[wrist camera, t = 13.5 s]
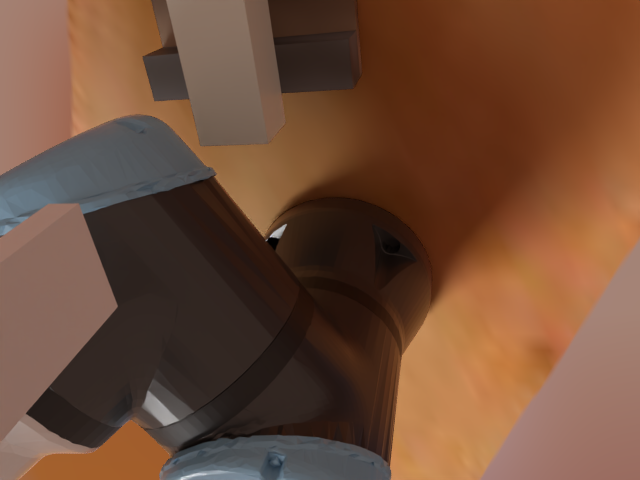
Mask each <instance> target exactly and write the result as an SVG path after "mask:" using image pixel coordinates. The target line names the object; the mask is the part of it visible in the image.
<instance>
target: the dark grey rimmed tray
mask: <svg viewBox="0 0 640 480" xmlns="http://www.w3.org/2000/svg"><path fill="white" fill-rule="evenodd" d="M151 1H152V5H153V9H154V13H155V17H156V21H157V25H158V29H159V33H160V37H161V41H162V45H163V48H161V49H159V50H156V51H154V52H152V53H150V54H147V55H145V56H143V60H144V64H145V68H146V71H147V75H148V79H149V82H150V86H151V90H152V93H153V97H154V101H166V100H182V99H189V95H188V91H187V86H186V82H185V78H184V74H183V69H182V65H181V61H180V57H179V52H178V48H177V44H176V40H175V36H174V31H173V27H172V23H171V19H170V14H169V10H168V6H167V2H166V0H151ZM268 7H269V13H270V20H271V27H272V33H273V40H274V47H275V54H276V60H277V67H278V74H279V80H280V87H281V93H294V92H310V91H326V90H342V89H353V88H354V86H355V85H356V83H357V81H358V80H359V78H360V76H361V74H362V64H361V51H360V38H359V25H358V12H357V0H268Z"/></svg>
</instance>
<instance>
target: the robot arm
mask: <svg viewBox="0 0 640 480" xmlns="http://www.w3.org/2000/svg"><path fill="white" fill-rule="evenodd" d="M215 175H217V174H216V172H215V171H214V170H213V168H211V167H207V166H205V165H204V164H203V163H202V161H201V160H200V159H199V158H198V157H197V156H196V155H195V154H194V153H193V152H192V150H191V149H190V148H189V147H188V146H187V145H186V144H185V143H184V142H183V141H182V140H181V138H180V137H179V136H178V135H177V134H176V133H175V132H174V131H173V130H172V129H171V128H170V127H169V126H168V125H167V124H166V123H164V122H163V121H161V120H159V119H157V118H155V117H152V116H147V115H129V116H124V117H120V118H117V119H114V120H111V121H108V122H106V123H104V124H101V125H99V126H96V127H94V128H92V129H90V130H87V131H85V132H83V133H81V134H78V135H76V136H74V137H72V138H70V139H68V140H66V141H64V142H62V143H60V144H58V145H56V146H54V147H52V148H50V149H48V150H46V151H44V152H42V153H41V154H39V155H37V156H35V157H33V158H31V159H29V160H27V161H25V162H24V163H22V164H20V165H18V166H16V167H14V168H13V169H11V170H9V171H7V172H6V173H4V174H2V175H0V480H19V479H20V478H21V477H22V476H23V475H24V474H25V473H26V472H27V471H28V470H30V469H31V468H32V467H33V466H34V465H35V464H36V463H37V462H38V461H39V460H40V459H41V458H43V457H44V456H46V455H50V454H54V453H90V452H94V451H95V450H96V449H98V448H99V447H100V446H101V445H103V443H105V442H106V441H107V440H108V439H109V438H110V437H111V436H112V435H113V434H114V433H115V432H116V431H117V430H118V429H119V428H121V427H122V426H123V425H124V424H125V423H126V422H128V421H129V420H132V421H134V422H135V423H137V424H138V425H139V426H141V427H142V428H143V429H144V430H145V431H146V432H147V433H148V434H149V435H150V436H152V437H153V438H154V439H155V440H156V441H157V443H158V444H160V445H161V446H162V447H163V448H164V449H165V450H166V451H167V452H168V453H169V455H170V459H168V460H167V462H166V463H165V464H164V465H163V467H162V469H161V472H160V480H391V470H390V460H391V451H392V441H393V431H394V422H395V412H396V403H397V393H398V384H399V375H400V366H401V357H402V355H403V353H404V352H405V350H406V349H407V347H408V346H409V344H410V343H411V341H412V340H413V338H414V337H415V335H416V334H417V332H418V331H419V329H420V328H421V326H422V324H423V322H424V320H425V318H426V316H427V313H428V310H429V306H430V301H431V289H432V272H431V266H430V262H429V259H428V256H427V254H426V251H425V249H424V248H423V246H422V244H421V242H420V241H419V239H418V238H417V237H416V235H415V234H414V233H413V232H412V231H411V230H410V229H409V228H408V227H407V226H406V225H405V224H404V223H403V222H402V221H401V220H399V219H398V218H397V217H395V216H394V215H392V214H390V213H389V212H387V211H385V210H383V209H381V208H379V207H377V206H375V205H372V204H369V203H366V202H363V201H359V200H354V199H348V198H322V199H316V200H312V201H308V202H305V203H302V204H300V205H297V206H295V207H293V208H291V209H290V210H288V211H287V212H285V213H284V214H282V215H281V216H280V217H279V218H278V219H277V220H276V221H275V222H274V223H273V224H272V225H271V227H270V228H269V229H268V231H267V233H266V234H265V236H264V238H263V236H262V235H261V234H260V233H259V231H258V230H257V229H256V228H255V226H254V225H253V224H252V223H251V221H250V220H249V219H248V218H247V217H246V215H245V214H244V213H243V212H242V210H241V209H240V208H239V207H238V205H237V204H236V203H235V202H234V201H233V199H232V198H231V197H230V196H229V194H228V193H227V192H226V191H225V189H224V188H223V187H222V186H221V185H220V183H219V182H218V181H217V180H216V178H215V177H214V176H215Z"/></svg>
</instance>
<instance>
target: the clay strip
mask: <svg viewBox="0 0 640 480" xmlns="http://www.w3.org/2000/svg"><path fill="white" fill-rule="evenodd" d="M166 2H167V6H168V10H169V14H170V19H171V23H172V27H173V31H174V36H175V40H176V44H177V48H178V52H179V57H180V61H181V65H182V69H183V74H184V78H185V82H186V86H187V91H188V95H189V99H190V103H191V107H192V112H193V116H194V120H195V124H196V129H197V133H198V137H199V141H200V146H221V145H249V144H269V142H270V141H271V140H272V139H273V138H274V136H275V135H276V134H277V133H278V132H279V130H280V129H281V128H282V127H283V125H284V124H285V123H286V120H285V114H284V107H283V100H282V94H281V87H280V80H279V74H278V67H277V60H276V54H275V47H274V40H273V33H272V27H271V20H270V13H269V7H268V0H166Z"/></svg>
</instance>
